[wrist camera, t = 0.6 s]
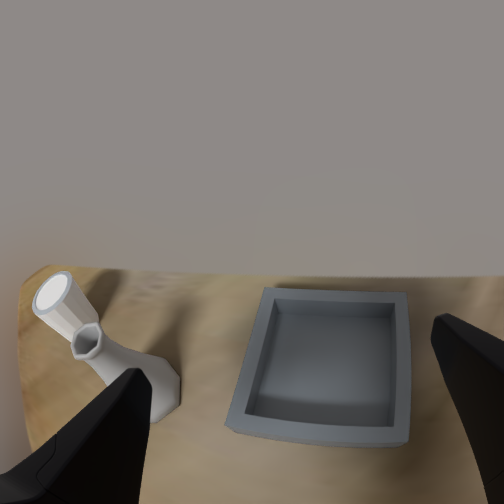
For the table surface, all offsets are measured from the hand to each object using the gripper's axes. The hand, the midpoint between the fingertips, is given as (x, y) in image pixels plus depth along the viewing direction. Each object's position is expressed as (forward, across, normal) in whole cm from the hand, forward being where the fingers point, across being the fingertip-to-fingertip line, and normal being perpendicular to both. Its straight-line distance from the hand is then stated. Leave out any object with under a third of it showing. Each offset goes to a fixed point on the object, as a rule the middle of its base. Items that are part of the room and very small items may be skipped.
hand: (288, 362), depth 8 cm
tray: (+11, -2, +14) cm, 17 cm away
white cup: (+19, +26, +11) cm, 34 cm away
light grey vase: (+11, +14, +14) cm, 23 cm away
